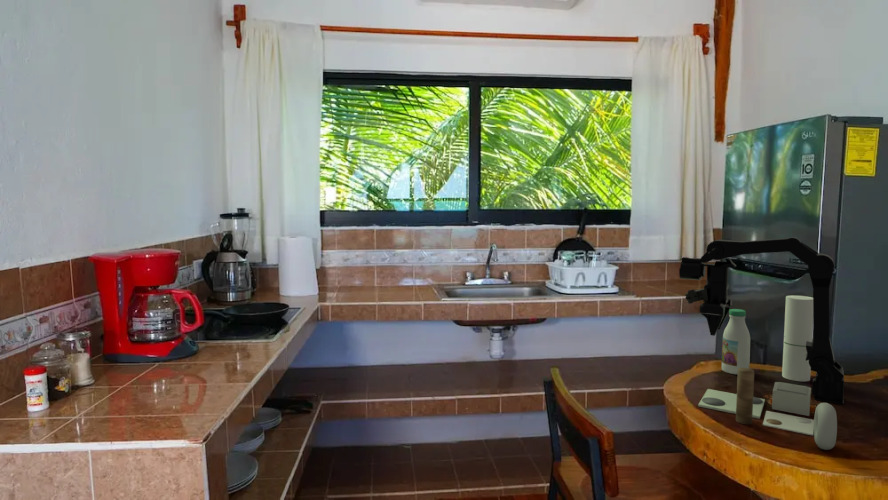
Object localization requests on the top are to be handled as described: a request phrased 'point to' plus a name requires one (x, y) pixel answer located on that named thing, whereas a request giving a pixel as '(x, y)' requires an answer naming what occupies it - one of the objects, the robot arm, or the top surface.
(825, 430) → the donut
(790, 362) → the cylindrical container
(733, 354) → the milk bottle
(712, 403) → the board
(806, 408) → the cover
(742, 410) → the pin
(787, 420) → the card
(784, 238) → the robot arm
